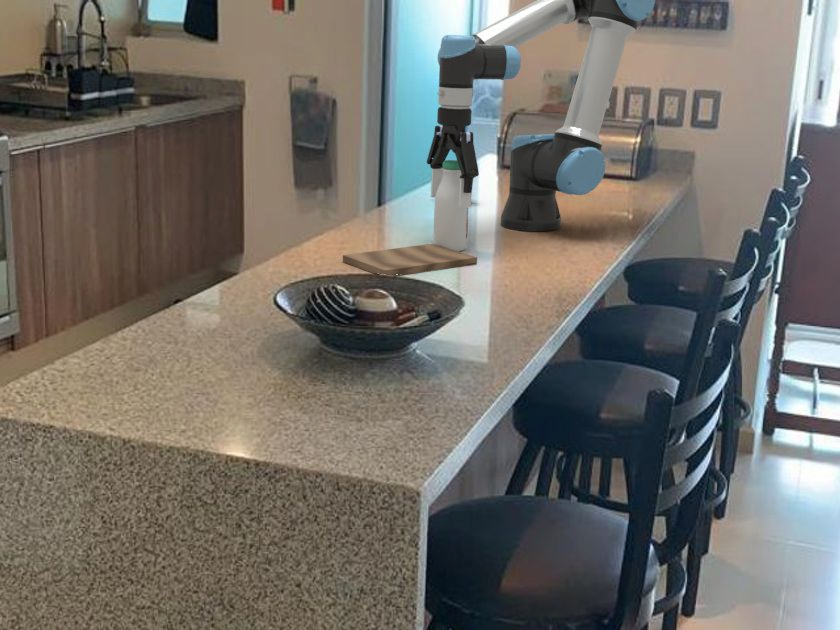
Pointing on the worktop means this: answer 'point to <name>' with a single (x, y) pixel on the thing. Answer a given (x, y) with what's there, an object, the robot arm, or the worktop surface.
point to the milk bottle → (450, 211)
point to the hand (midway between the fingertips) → (450, 202)
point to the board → (409, 259)
